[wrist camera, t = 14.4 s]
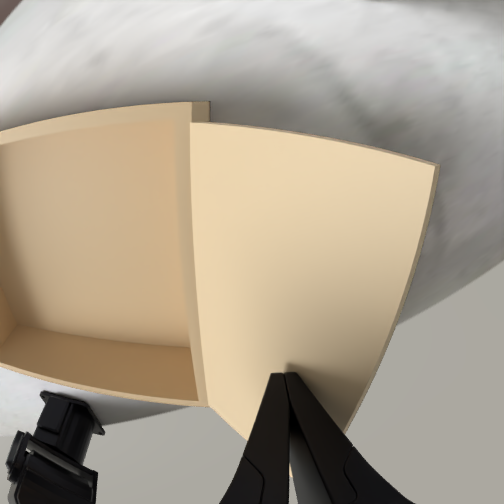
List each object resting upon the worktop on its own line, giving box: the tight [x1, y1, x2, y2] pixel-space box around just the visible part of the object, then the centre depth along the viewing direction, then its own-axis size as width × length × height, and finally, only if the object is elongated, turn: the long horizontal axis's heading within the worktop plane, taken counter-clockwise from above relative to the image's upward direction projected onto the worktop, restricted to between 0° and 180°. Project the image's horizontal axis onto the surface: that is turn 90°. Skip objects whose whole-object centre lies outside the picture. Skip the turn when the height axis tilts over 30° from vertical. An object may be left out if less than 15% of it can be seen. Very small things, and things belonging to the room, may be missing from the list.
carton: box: [0, 101, 210, 407], centre depth 15 cm, size 16×18×5 cm
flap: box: [190, 122, 440, 478], centre depth 10 cm, size 15×8×1 cm
